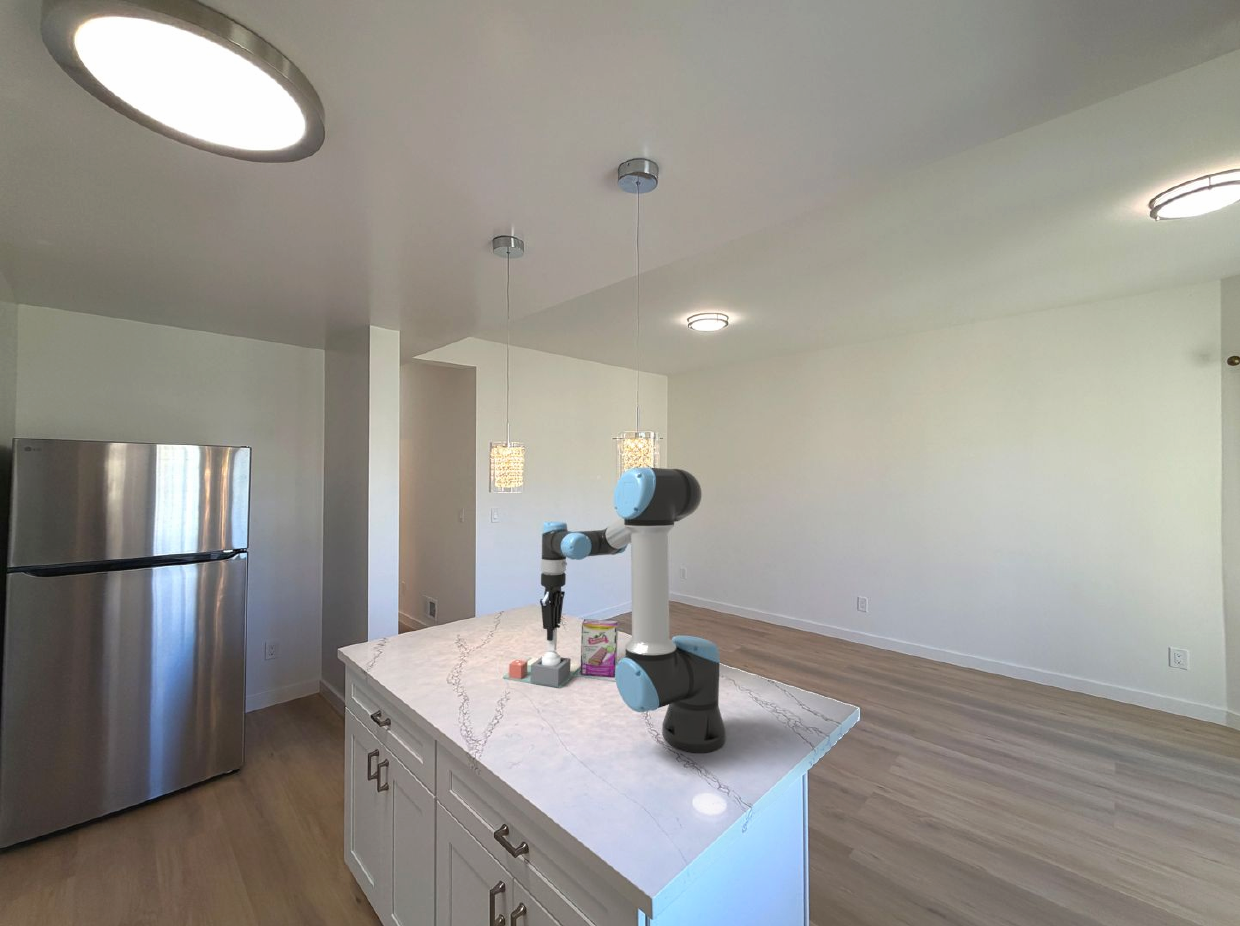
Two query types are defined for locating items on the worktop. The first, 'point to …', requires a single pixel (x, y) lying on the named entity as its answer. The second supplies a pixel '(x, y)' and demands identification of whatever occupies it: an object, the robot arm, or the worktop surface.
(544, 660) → the dome plunger
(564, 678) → the game board
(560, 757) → the worktop surface
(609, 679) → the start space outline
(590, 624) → the candy bar box
